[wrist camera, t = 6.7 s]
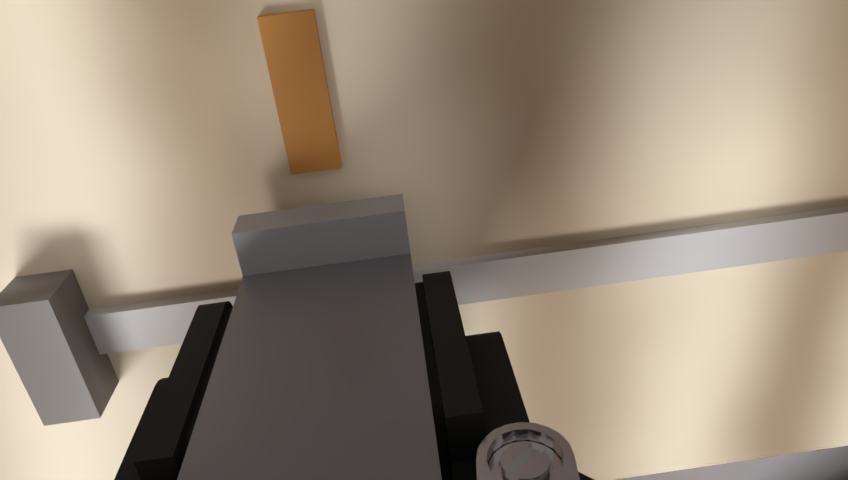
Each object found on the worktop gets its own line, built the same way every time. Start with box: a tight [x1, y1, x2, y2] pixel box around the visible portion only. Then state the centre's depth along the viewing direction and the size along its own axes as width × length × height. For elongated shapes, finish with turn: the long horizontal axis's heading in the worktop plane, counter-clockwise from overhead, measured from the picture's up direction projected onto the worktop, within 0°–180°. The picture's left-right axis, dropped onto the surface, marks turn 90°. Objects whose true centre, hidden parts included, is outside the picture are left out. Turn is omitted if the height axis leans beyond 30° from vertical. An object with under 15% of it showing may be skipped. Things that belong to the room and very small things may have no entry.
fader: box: [177, 194, 442, 480], centre depth 11 cm, size 3×5×7 cm, turn 6°
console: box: [0, 0, 848, 480], centre depth 15 cm, size 30×14×4 cm, turn 96°
